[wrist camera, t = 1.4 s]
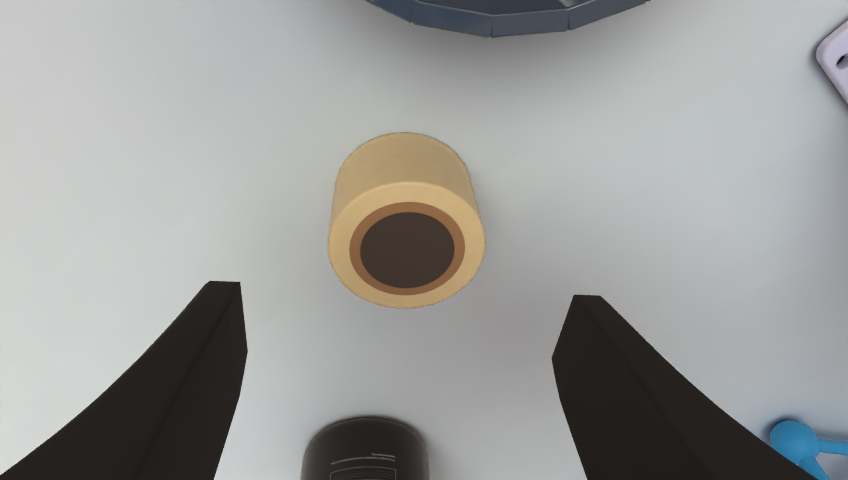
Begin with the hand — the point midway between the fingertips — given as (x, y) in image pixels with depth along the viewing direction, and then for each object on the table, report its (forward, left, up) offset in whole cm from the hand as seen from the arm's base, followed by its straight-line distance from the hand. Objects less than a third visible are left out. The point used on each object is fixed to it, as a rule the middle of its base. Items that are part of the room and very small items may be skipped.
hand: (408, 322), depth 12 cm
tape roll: (-2, +2, -9) cm, 10 cm away
